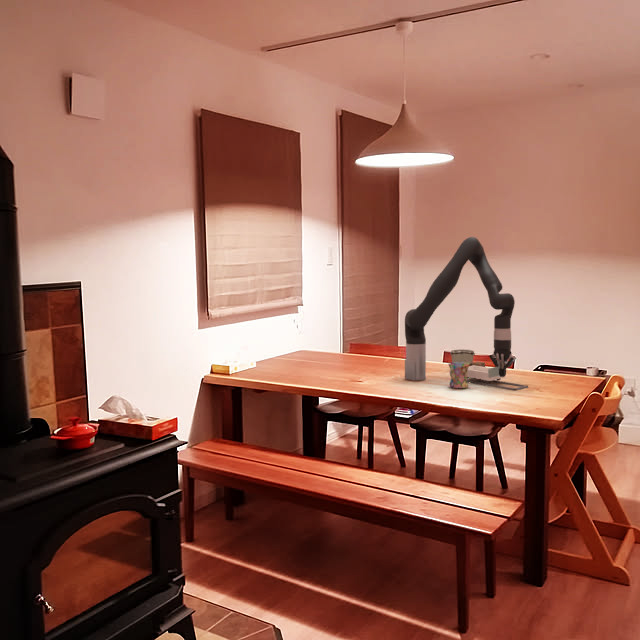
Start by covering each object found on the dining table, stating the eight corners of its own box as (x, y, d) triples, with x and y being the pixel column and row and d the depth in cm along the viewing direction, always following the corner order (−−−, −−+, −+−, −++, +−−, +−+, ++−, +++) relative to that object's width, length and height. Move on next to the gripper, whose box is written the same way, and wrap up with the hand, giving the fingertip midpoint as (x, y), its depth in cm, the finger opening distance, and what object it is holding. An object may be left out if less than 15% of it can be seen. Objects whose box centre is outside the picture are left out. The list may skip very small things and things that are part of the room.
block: (479, 375, 312) (479, 363, 311) (471, 374, 315) (471, 362, 314) (485, 374, 314) (485, 362, 314) (477, 373, 318) (477, 361, 317)
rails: (515, 390, 277) (515, 388, 277) (455, 380, 302) (455, 378, 302) (528, 387, 284) (528, 385, 284) (468, 377, 308) (468, 375, 308)
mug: (455, 384, 293) (455, 361, 292) (473, 386, 286) (473, 363, 285) (440, 388, 284) (440, 364, 283) (459, 391, 278) (459, 367, 276)
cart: (490, 384, 287) (490, 368, 286) (459, 378, 299) (459, 364, 299) (504, 380, 294) (504, 365, 293) (473, 375, 306) (473, 361, 306)
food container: (473, 368, 331) (473, 349, 330) (474, 370, 325) (474, 351, 324) (448, 368, 332) (448, 349, 331) (450, 370, 326) (450, 351, 325)
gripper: (484, 338, 289) (485, 376, 290) (510, 340, 278) (510, 379, 280) (494, 336, 293) (494, 373, 295) (520, 338, 283) (520, 377, 285)
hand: (502, 376), depth 287 cm, fingers closed
